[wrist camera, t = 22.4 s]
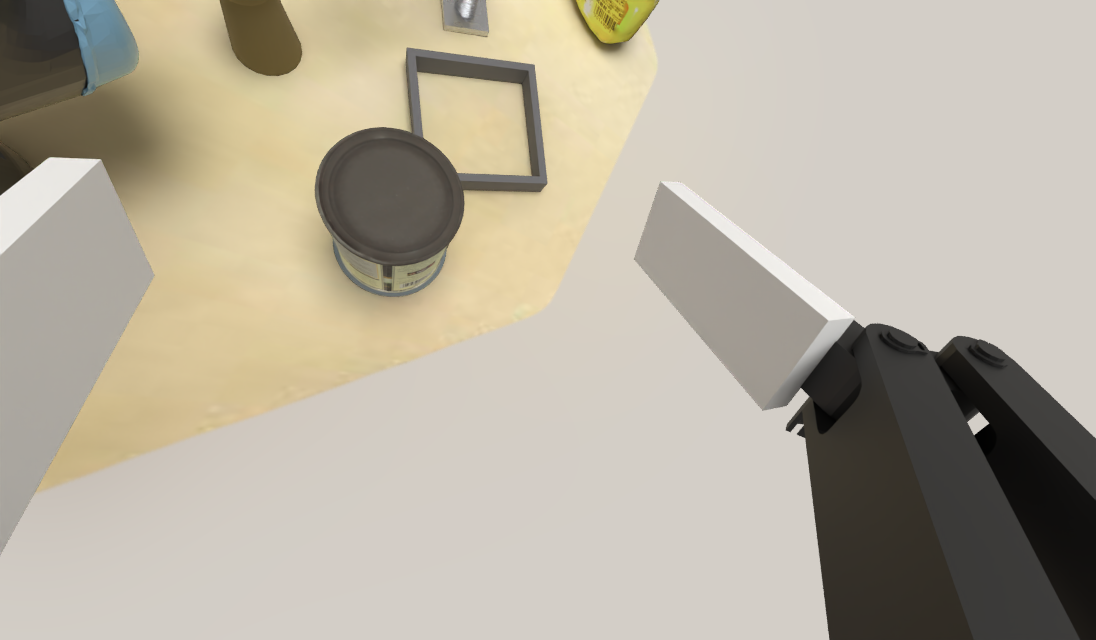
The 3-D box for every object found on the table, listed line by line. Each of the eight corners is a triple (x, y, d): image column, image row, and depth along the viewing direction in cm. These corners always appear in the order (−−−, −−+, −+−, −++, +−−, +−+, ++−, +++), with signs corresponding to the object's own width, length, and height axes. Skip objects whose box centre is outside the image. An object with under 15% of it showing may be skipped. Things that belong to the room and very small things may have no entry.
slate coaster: (337, 300, 43) (337, 299, 43) (329, 191, 44) (328, 189, 44) (450, 293, 47) (451, 293, 47) (441, 193, 48) (441, 192, 47)
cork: (289, 86, 44) (259, 0, 33) (220, 57, 42) (166, -44, 31) (310, 36, 45) (288, -63, 34) (244, 5, 43) (200, -108, 33)
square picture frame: (416, 188, 47) (418, 179, 45) (405, 63, 48) (406, 47, 45) (540, 191, 52) (547, 183, 49) (527, 78, 53) (534, 64, 50)
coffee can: (380, 175, 45) (377, 98, 32) (461, 238, 48) (490, 190, 35) (312, 250, 43) (279, 200, 29) (402, 313, 45) (410, 293, 32)
